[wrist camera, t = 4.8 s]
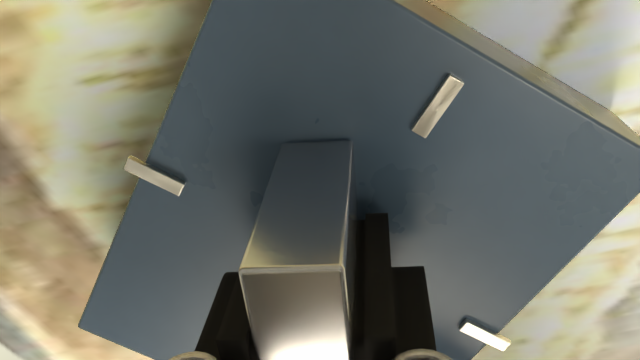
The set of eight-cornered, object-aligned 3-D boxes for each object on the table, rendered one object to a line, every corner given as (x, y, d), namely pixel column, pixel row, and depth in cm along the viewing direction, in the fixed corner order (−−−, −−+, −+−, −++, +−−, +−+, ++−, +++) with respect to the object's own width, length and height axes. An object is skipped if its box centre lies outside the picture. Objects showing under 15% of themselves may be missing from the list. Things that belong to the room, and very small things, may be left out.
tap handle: (280, 141, 12) (231, 281, 7) (353, 138, 11) (344, 278, 7) (311, 353, 15) (289, 536, 10) (368, 353, 14) (369, 538, 10)
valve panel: (259, -99, 12) (226, -97, 9) (623, 118, 14) (687, 175, 11) (109, 258, 18) (61, 327, 15) (384, 381, 19) (386, 463, 17)
